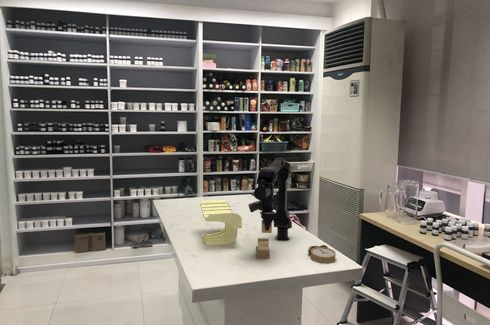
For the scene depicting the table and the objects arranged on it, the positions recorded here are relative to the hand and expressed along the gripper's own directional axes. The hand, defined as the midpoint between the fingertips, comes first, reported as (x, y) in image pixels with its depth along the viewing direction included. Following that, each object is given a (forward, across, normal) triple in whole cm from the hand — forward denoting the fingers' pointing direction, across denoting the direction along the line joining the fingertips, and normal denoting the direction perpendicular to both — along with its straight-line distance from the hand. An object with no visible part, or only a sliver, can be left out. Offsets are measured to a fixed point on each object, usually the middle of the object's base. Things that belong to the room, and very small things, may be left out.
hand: (266, 229), depth 179 cm
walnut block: (+13, +1, -2) cm, 13 cm away
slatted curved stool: (+12, -22, -22) cm, 34 cm away
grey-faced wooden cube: (+1, 0, 0) cm, 1 cm away
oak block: (+9, +1, -1) cm, 9 cm away
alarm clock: (+13, +2, +25) cm, 29 cm away
